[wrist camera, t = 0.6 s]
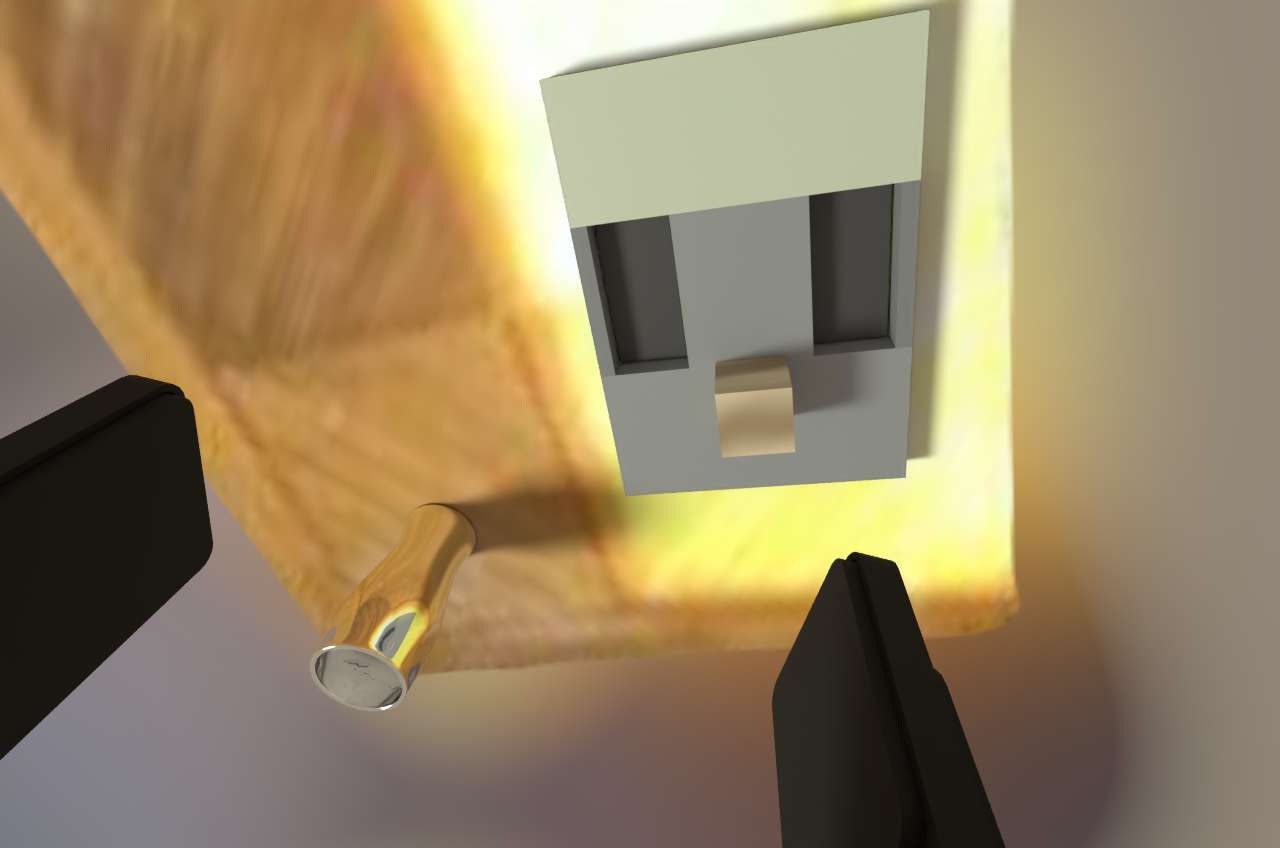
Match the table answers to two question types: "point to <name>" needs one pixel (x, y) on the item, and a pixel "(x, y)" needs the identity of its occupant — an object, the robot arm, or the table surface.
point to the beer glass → (394, 614)
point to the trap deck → (751, 244)
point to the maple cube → (754, 406)
